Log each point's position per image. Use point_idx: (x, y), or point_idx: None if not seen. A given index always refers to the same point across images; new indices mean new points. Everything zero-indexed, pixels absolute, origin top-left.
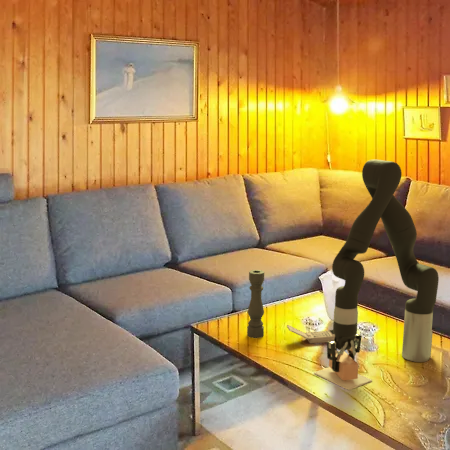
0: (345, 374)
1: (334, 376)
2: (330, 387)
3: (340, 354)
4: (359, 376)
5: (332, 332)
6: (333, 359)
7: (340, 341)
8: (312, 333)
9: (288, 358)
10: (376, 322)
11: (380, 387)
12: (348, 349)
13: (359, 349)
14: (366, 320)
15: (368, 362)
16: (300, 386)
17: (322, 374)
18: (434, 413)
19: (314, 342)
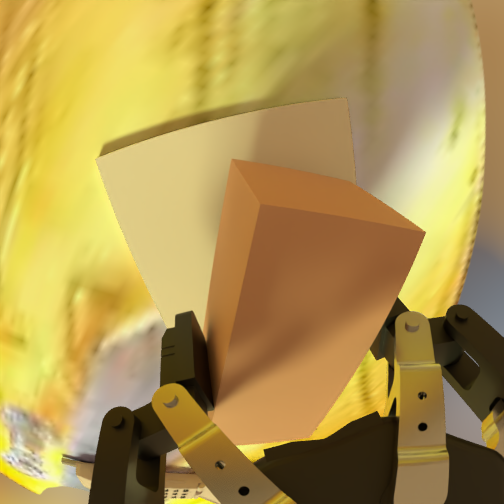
0: (355, 192)
1: None
2: (400, 182)
3: (428, 364)
4: (152, 234)
5: None
6: (469, 313)
7: (489, 486)
8: (181, 496)
9: (331, 425)
10: (4, 465)
11: (102, 50)
12: (285, 445)
13: (106, 434)
14: (24, 475)
15: (38, 359)
16: (468, 245)
17: None
18: None
19: (187, 475)
